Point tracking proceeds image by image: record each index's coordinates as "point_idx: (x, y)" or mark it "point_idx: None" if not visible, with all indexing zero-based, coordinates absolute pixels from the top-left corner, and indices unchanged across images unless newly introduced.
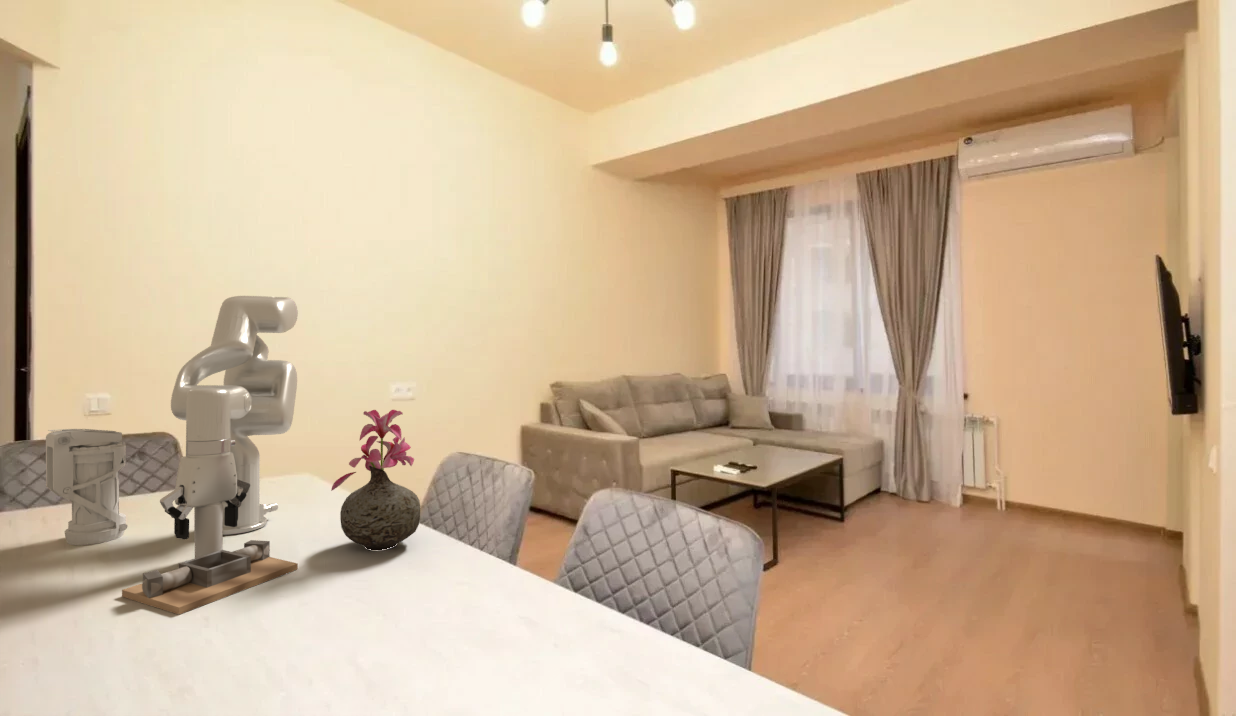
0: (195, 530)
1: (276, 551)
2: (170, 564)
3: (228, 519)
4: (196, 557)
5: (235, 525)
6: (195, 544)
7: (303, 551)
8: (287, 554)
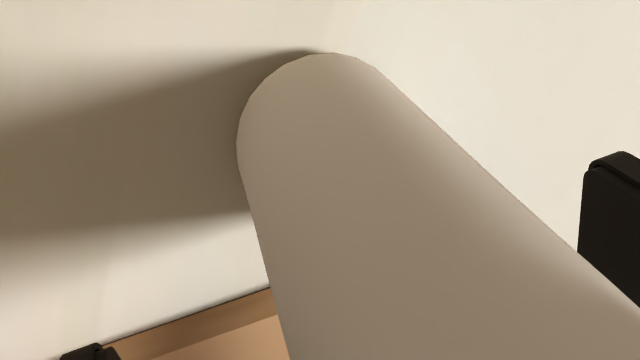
0: (282, 316)
1: None
2: (70, 59)
3: (634, 260)
4: (240, 171)
5: None
6: (254, 217)
7: None
8: None
